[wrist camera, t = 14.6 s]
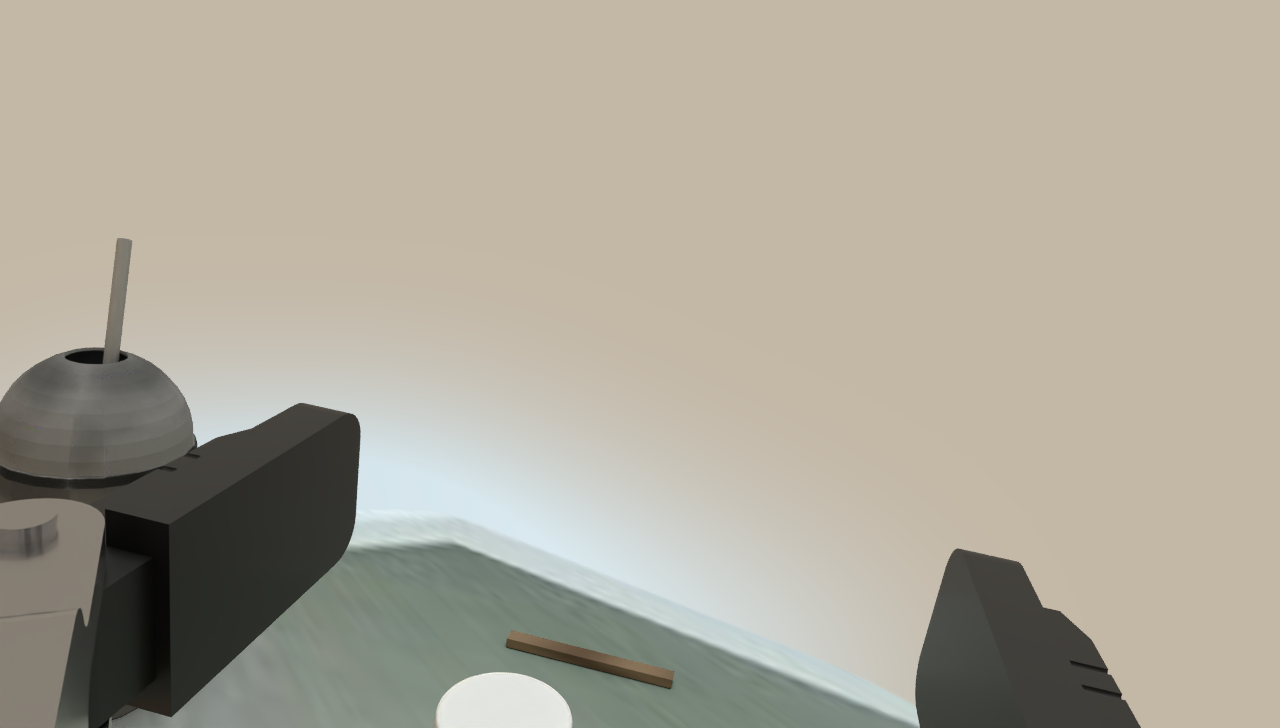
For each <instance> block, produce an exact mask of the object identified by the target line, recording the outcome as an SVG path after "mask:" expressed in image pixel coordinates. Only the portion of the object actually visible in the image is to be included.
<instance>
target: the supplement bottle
mask: <svg viewBox="0 0 1280 728" xmlns="http://www.w3.org/2000/svg"><path fill="white" fill-rule="evenodd" d="M433 728H572V716H571V712H570V709H569V707H568V705H567V703H566V701H565V700H564V699H563V698H562V696H561V695H560V694H559V693H558V692H557V691H556V690H554V689H553V688H551V687H550V686H549V685H547V684H545V683H544V682H541V681H539V680H537V679H535V678H532V677H529V676H525V675H521V674H515V673H504V672H495V673H486V674H481V675H476V676H473V677H470V678H467V679H465V680H463V681H461V682H459V683H457V684H456V685H454V686H453V687H452V688H450V689H449V690H448V691H447V692H446V693H445V694H444V696H443V697H442V699H441V700H440V702H439V704H438V707H437V710H436V715H435V720H434V727H433Z"/></svg>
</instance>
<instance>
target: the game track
mask: <svg viewBox="0 0 1280 728" xmlns="http://www.w3.org/2000/svg"><path fill="white" fill-rule="evenodd" d="M506 647H509V648H513V649H517V650H521V651H525V652H529V653H533V654H537V655H541V656H545V657H549V658H553V659H557V660H561V661H565V662H568V663H572V664H576V665H580V666H584V667H588V668H592V669H596V670H600V671H604V672H608V673H612V674H616V675H620V676H624V677H627V678H631V679H635V680H639V681H643V682H647V683H651V684H655V685H659V686H663V687H667V688H671V685H672V680H673V675H674V671H671V670H667V669H663V668H659V667H655V666H651V665H647V664H643V663H639V662H635V661H631V660H627V659H623V658H619V657H615V656H611V655H607V654H603V653H599V652H596V651H592V650H588V649H584V648H580V647H576V646H572V645H568V644H564V643H560V642H556V641H552V640H548V639H544V638H540V637H536V636H532V635H528V634H524V633H520V632H516V631H511V633H510V634H509V636H508V638H507V643H506Z"/></svg>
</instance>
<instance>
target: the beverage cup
mask: <svg viewBox="0 0 1280 728" xmlns="http://www.w3.org/2000/svg"><path fill="white" fill-rule="evenodd" d="M131 247H132V240H129V239H124V238H117V244H116V253H115V261H114V271H113V279H112V288H111V296H110V305H109V314H108V322H107V331H106V339H105V348H81V349H75V350H71V351H67V352H64V353H60V354H56V355H54V356H52V357H50V358H48V359H46V360H44V361H42V362H40V363H38V364H36V365H35V366H33V367H32V368H30V369H29V370H27V371H26V372H25V373H23V374H22V375H21V376H20V377H19V378H18V379H17V380H16V381H15V382H14V383H13V384H12V385H11V387H10V388H9V390H8V391H7V393H6V394H5V395H4V397H3V399H2V401H1V402H0V503H5V502H11V501H17V500H26V499H41V498H52V499H66V500H73V501H77V502H82V503H85V504H88V505H90V504H92V503H94V502H96V501H98V500H99V499H101V498H103V497H105V496H107V495H109V494H111V493H113V492H115V491H117V490H118V489H120V488H122V487H124V486H126V485H128V484H130V483H132V482H134V481H135V480H137V479H139V478H141V477H143V476H145V475H147V474H149V473H151V472H152V471H154V470H156V469H160V470H162V469H163V467H164V465H166V464H168V463H170V462H171V461H173V460H175V459H177V458H179V457H181V456H184V457H187V454H188V452H190V451H192V450H194V449H196V448H197V441H196V437H195V435H194V434H193V422H192V418H191V413H190V409H189V407H188V405H187V402H186V400H185V398H184V396H183V395H182V393H181V392H180V390H179V389H178V387H177V386H176V385H175V384H174V383H173V382H172V381H171V380H170V378H169V377H168V376H167V375H166V374H165V373H164V372H163V371H162V370H160V369H159V368H158V367H156V366H155V365H154V364H152V363H151V362H149V361H146V360H145V359H143V358H141V357H139V356H136V355H134V354H131V353H128V352H124V351H120V343H121V335H122V326H123V316H124V308H125V299H126V291H127V282H128V273H129V264H130V255H131ZM136 708H137V707H133V706H129V705H125V706H124V707H122V708H121V709H120V710H119V711H118V712H116V713H115V714H114V715H113V716H112V719H115V718H118V717H121V716H123V715H125V714H127V713H129V712H130V711H132V710H134V709H136Z"/></svg>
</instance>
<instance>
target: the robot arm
mask: <svg viewBox="0 0 1280 728" xmlns="http://www.w3.org/2000/svg"><path fill="white" fill-rule="evenodd" d="M359 451H360V425H359V421H358V419H357V418H356V416H355V415H353V414H350V413H346V412H341V411H336V410H332V409H328V408H323V407H319V406H314V405H310V404H305V403H299V404H296V405H294V406H292V407H290V408H288V409H287V410H285V411H283V412H281V413H279V414H278V415H276V416H274V417H272V418H270V419H268V420H267V421H265V422H263V423H261V424H259V425H257V426H255V427H254V428H252V429H248V430H245V431H241V432H237V433H233V434H229V435H225V436H221V437H218V438H215V439H213V440H211V441H209V442H208V443H206V444H204V445H202V446H200V447H198V448H196V449H194V450H192V451H190V452H188V454H187V457H184V456H181V457H179V458H177V459H175V460H173V461H171V462H170V463H168V464H166V465H164V467H163V469H162V470H160V469H156V470H154V471H152V472H151V473H149V474H147V475H145V476H143V477H141V478H139V479H137V480H135V481H134V482H132V483H130V484H128V485H126V486H124V487H122V488H120V489H118V490H117V491H115V492H113V493H111V494H109V495H107V496H105V497H103V498H101V499H99V500H98V501H96V502H94V503H92V504H90V505H88V504H85V503H82V502H77V501H73V500H66V499H52V498H41V499H26V500H17V501H11V502H5V503H0V728H112V716H113V715H114V714H115V713H116V712H118V711H119V710H120V709H121V708H122V707H124V706H125V705H129V706H133V707H137V708H140V709H144V710H147V711H151V712H154V713H158V714H162V715H165V716H169V717H172V716H173V715H174V714H175V713H176V712H177V711H178V710H180V709H181V708H182V707H183V706H184V705H185V704H186V703H187V702H188V701H189V700H190V699H191V698H192V697H193V696H195V695H196V694H197V693H198V692H199V691H200V690H201V689H202V688H203V687H204V686H205V685H206V684H207V683H208V682H210V681H211V680H212V679H213V678H214V677H215V676H216V675H217V674H218V673H219V672H220V671H221V670H222V669H224V668H225V667H226V666H227V665H228V664H229V663H230V662H231V661H232V660H233V659H234V658H235V657H236V656H237V655H239V654H240V653H241V652H242V651H243V650H244V649H245V648H246V647H247V646H248V645H249V644H250V643H251V642H252V641H254V640H255V639H256V638H257V637H258V636H259V635H260V634H261V633H262V632H263V631H264V630H265V629H266V628H268V627H269V626H270V625H271V624H272V623H273V622H274V621H275V620H276V619H277V618H278V617H279V616H280V615H281V614H283V613H284V612H285V611H286V610H287V609H288V608H289V607H290V606H291V605H292V604H293V603H294V602H295V601H296V600H298V599H299V598H300V597H301V596H302V595H303V594H304V593H305V592H306V591H307V590H308V589H309V588H310V587H312V586H313V585H314V584H315V583H316V582H317V581H318V580H319V579H320V578H321V577H322V576H323V575H324V574H325V573H327V572H328V571H329V570H330V569H331V568H332V567H333V566H334V565H335V564H336V563H337V562H338V561H339V560H340V558H341V557H342V555H343V554H344V552H345V550H346V548H347V546H348V544H349V542H350V539H351V536H352V533H353V529H354V524H355V517H356V500H357V485H358V468H359V467H358V466H359ZM1107 672H1108V669H1107V667H1106V665H1105V663H1104V661H1103V660H1102V658H1101V656H1100V654H1099V652H1098V650H1097V649H1096V647H1095V645H1094V644H1093V642H1092V640H1091V639H1090V638H1089V637H1088V636H1087V635H1086V634H1084V633H1083V632H1082V631H1081V630H1080V629H1079V628H1078V627H1077V626H1076V625H1074V624H1073V623H1072V622H1071V621H1070V620H1069V619H1068V618H1067V617H1065V616H1064V615H1063V614H1062V613H1061V612H1060V611H1056V610H1052V609H1047V608H1043V607H1042V605H1041V603H1040V600H1039V599H1038V596H1037V594H1036V592H1035V590H1034V588H1033V587H1032V584H1031V582H1030V581H1029V578H1028V576H1027V574H1026V572H1025V571H1024V568H1023V566H1022V565H1021V564H1020V563H1019V562H1017V561H1012V560H1007V559H1003V558H998V557H994V556H989V555H985V554H980V553H976V552H971V551H966V550H962V549H956V550H954V551H953V553H952V554H951V556H950V558H949V561H948V563H947V566H946V569H945V572H944V576H943V579H942V583H941V586H940V589H939V593H938V596H937V600H936V603H935V606H934V610H933V614H932V617H931V620H930V624H929V627H928V630H927V634H926V638H925V641H924V644H923V648H922V651H921V655H920V659H919V664H918V670H917V676H916V690H915V696H916V708H917V714H918V719H919V724H920V728H1141V727H1140V725H1139V724H1138V722H1137V720H1136V718H1135V717H1134V715H1133V713H1132V711H1131V709H1130V708H1129V706H1128V704H1127V702H1126V701H1125V700H1121V696H1122V693H1121V692H1120V690H1119V688H1118V686H1117V684H1116V683H1115V681H1114V679H1113V678H1112V676H1111V675H1108V674H1107Z"/></svg>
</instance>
